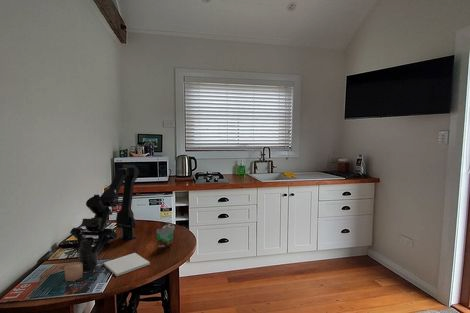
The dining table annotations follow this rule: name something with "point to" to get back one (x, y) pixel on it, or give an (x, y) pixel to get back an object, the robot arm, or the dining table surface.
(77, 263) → the tan rounded piece
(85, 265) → the supplement bottle
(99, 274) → the dining table surface
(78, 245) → the robot arm
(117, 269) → the pad
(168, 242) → the food container
